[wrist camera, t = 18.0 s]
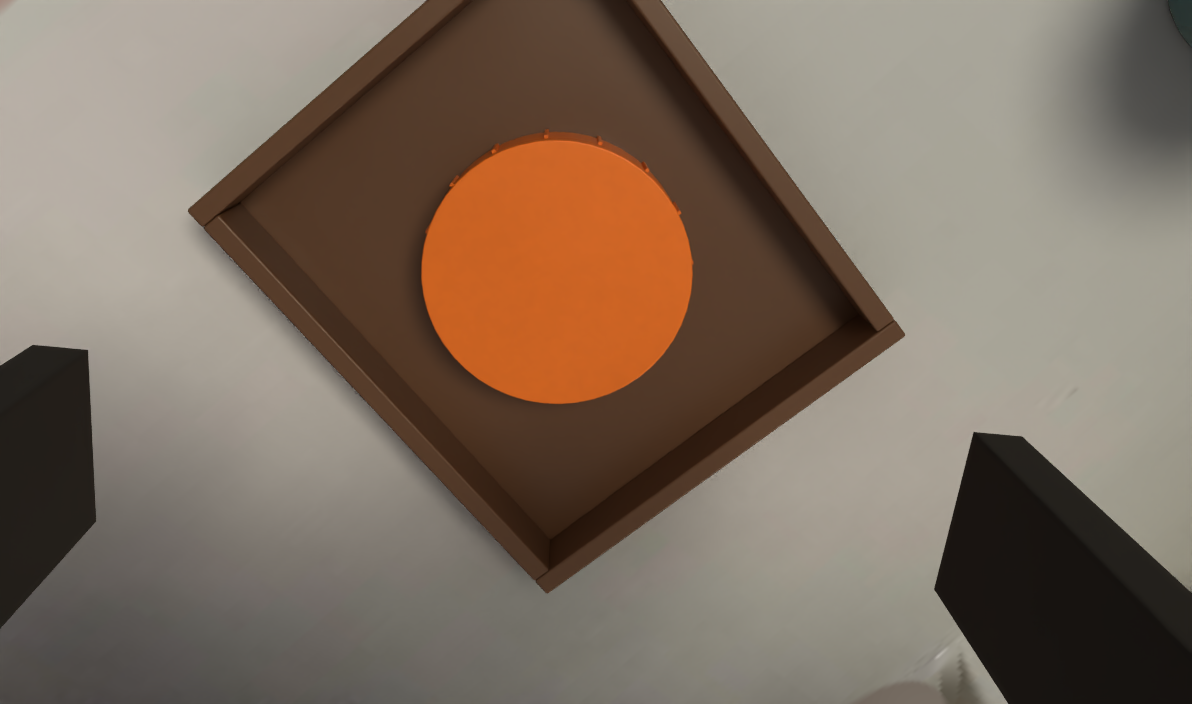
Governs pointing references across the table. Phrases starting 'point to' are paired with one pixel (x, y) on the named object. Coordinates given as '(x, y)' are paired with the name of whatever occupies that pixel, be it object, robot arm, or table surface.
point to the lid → (556, 268)
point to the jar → (1182, 17)
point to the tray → (421, 181)
